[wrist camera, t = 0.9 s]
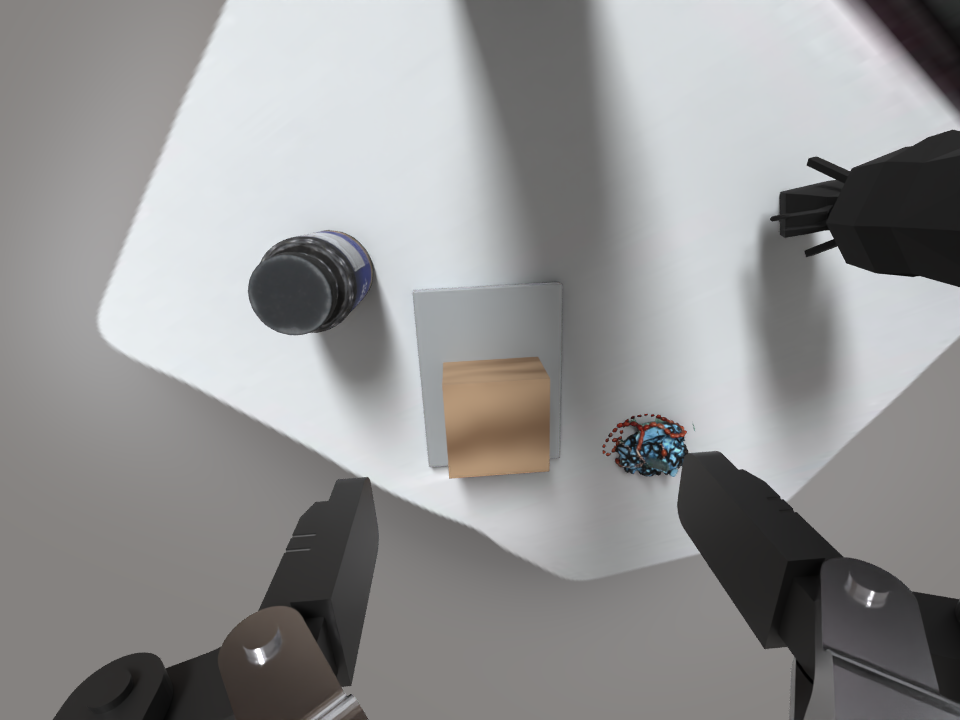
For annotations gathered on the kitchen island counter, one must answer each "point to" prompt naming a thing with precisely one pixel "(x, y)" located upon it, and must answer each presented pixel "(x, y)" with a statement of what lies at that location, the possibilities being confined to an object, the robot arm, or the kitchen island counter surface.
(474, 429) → the wooden block
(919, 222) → the toy
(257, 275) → the pill bottle
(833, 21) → the kitchen island counter surface
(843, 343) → the kitchen island counter surface
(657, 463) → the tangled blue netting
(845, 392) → the kitchen island counter surface
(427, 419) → the build plate
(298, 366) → the kitchen island counter surface
